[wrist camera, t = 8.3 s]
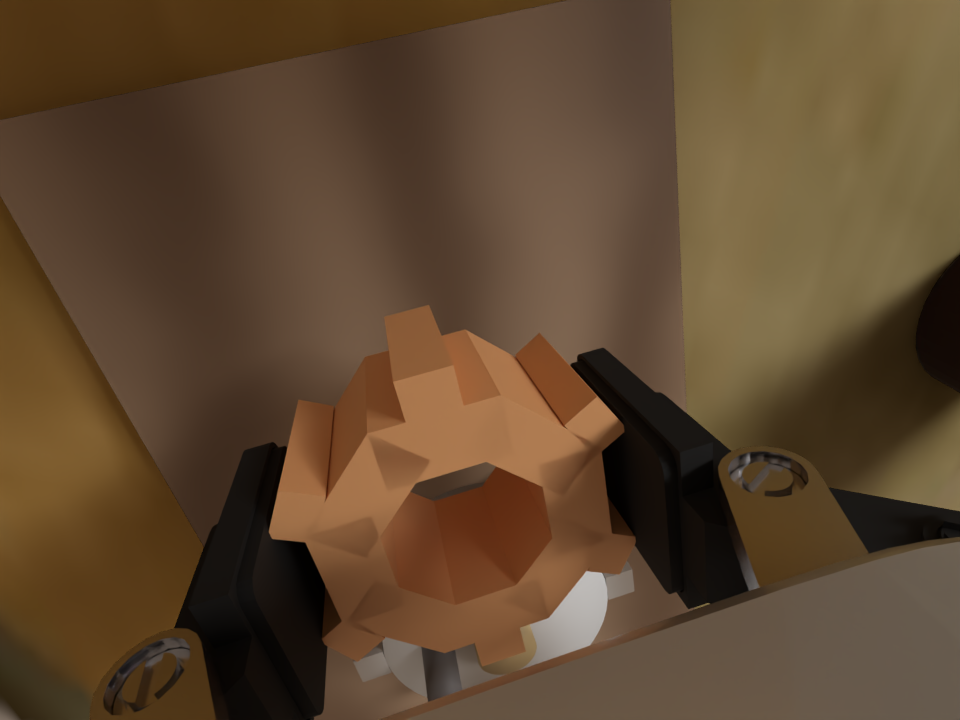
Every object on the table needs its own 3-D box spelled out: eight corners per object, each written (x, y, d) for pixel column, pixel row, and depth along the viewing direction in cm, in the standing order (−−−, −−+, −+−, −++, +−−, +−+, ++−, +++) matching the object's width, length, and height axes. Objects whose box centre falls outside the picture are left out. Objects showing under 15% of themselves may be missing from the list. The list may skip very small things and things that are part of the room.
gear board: (644, -10, 14) (813, -91, 9) (682, 643, 25) (765, 776, 20) (-5, 128, 12) (-268, 128, 7) (346, 761, 23) (343, 938, 18)
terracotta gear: (551, 272, 11) (617, 319, 8) (587, 514, 13) (645, 610, 11) (252, 352, 10) (213, 432, 7) (354, 588, 13) (353, 710, 10)
